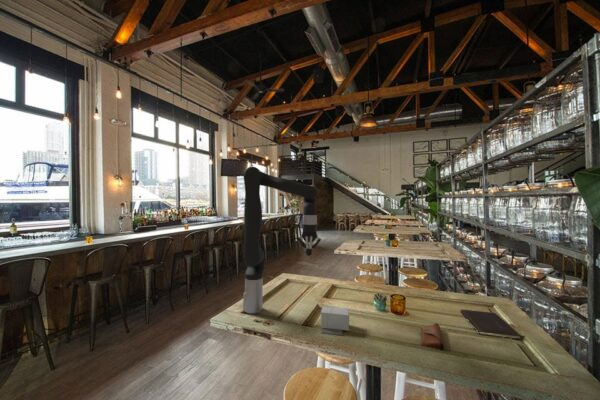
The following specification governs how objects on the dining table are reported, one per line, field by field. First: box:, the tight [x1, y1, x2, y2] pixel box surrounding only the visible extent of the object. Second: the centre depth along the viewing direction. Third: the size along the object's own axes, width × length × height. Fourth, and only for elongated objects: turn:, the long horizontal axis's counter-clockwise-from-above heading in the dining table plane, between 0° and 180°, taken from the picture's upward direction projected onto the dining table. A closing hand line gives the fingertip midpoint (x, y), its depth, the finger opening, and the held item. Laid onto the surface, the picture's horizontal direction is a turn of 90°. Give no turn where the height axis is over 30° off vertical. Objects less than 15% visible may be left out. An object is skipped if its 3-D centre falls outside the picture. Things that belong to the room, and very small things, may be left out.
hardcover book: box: [460, 309, 522, 338], centre depth 125 cm, size 16×23×2 cm
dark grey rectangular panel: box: [321, 328, 344, 336], centre depth 121 cm, size 9×15×1 cm, turn 169°
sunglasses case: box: [420, 322, 445, 351], centre depth 112 cm, size 18×7×7 cm
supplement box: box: [320, 305, 350, 331], centre depth 120 cm, size 7×7×13 cm
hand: (309, 255), depth 138 cm, fingers closed
